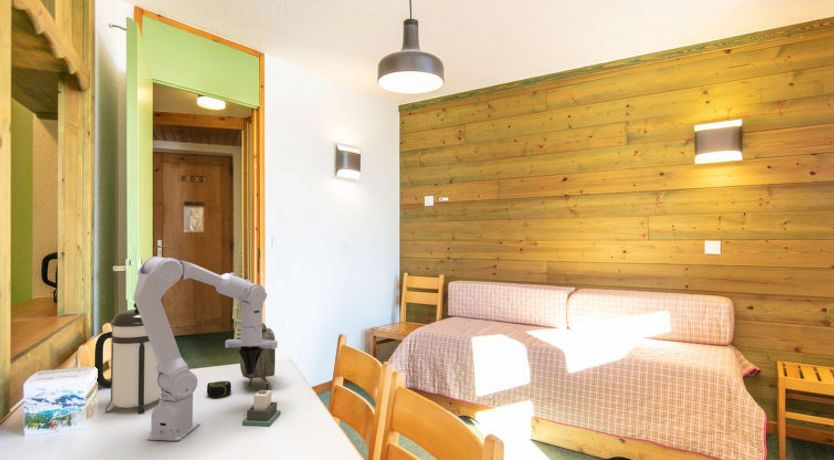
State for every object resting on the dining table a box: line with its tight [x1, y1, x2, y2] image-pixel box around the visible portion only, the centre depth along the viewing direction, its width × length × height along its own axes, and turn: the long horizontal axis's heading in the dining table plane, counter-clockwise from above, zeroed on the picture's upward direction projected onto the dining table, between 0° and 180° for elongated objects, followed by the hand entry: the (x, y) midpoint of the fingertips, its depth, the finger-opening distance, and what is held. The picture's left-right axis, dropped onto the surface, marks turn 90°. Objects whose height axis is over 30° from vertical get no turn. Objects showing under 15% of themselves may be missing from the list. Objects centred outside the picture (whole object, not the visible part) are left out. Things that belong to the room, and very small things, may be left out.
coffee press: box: [94, 302, 162, 415], centre depth 128 cm, size 17×16×30 cm
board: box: [241, 401, 282, 427], centre depth 120 cm, size 8×7×4 cm
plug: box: [253, 389, 272, 411], centre depth 120 cm, size 4×3×7 cm
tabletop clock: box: [239, 322, 276, 390], centre depth 146 cm, size 14×9×25 cm, turn 27°
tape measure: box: [206, 380, 232, 398], centre depth 137 cm, size 7×7×4 cm
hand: (251, 373), depth 128 cm, fingers closed
